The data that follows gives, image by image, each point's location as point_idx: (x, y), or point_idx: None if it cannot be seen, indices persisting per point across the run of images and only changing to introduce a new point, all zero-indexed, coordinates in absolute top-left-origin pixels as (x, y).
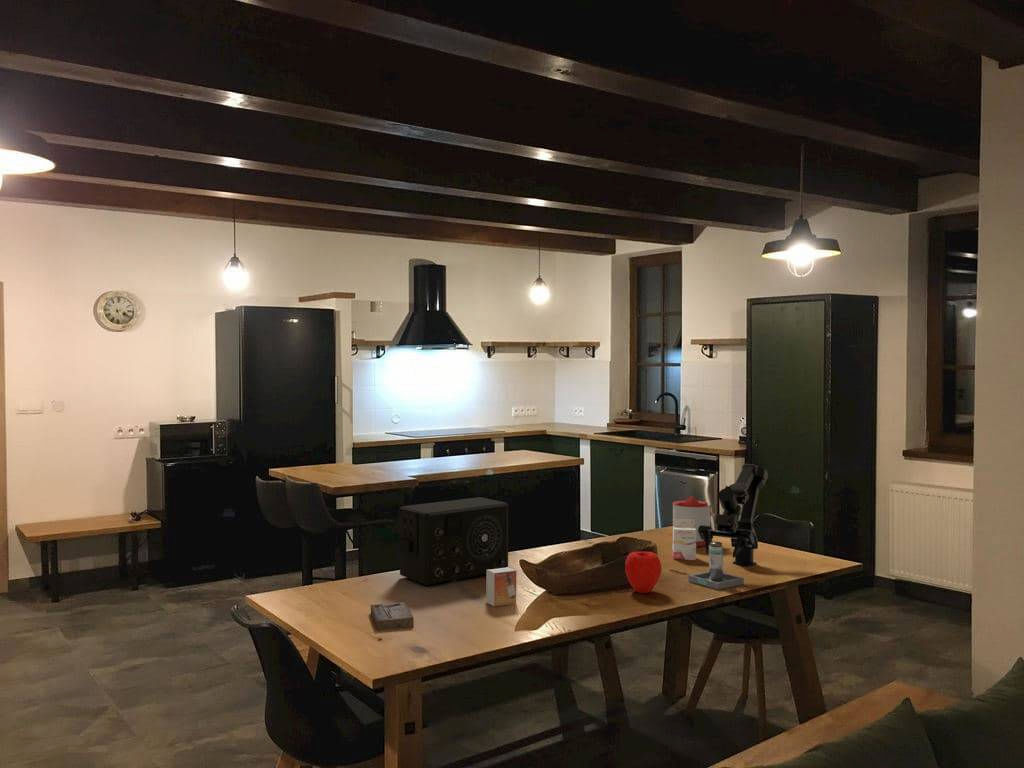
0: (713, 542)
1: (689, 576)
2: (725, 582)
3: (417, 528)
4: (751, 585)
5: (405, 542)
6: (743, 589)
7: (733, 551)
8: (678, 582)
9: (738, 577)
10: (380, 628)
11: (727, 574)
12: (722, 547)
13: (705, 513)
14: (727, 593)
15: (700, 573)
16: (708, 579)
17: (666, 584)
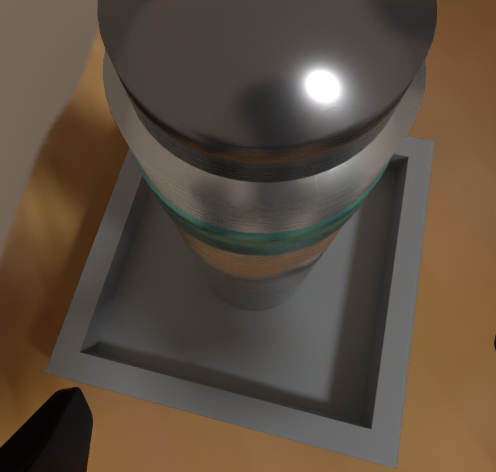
0: (352, 1)
1: (420, 141)
2: (126, 160)
3: None
4: (8, 377)
5: None
6: (26, 230)
7: (36, 453)
8: (447, 110)
9: (90, 354)
10: None
11: (215, 391)
12: (111, 89)
13: None
14: (81, 87)
15: (411, 259)
16: (323, 262)
17: (463, 31)
